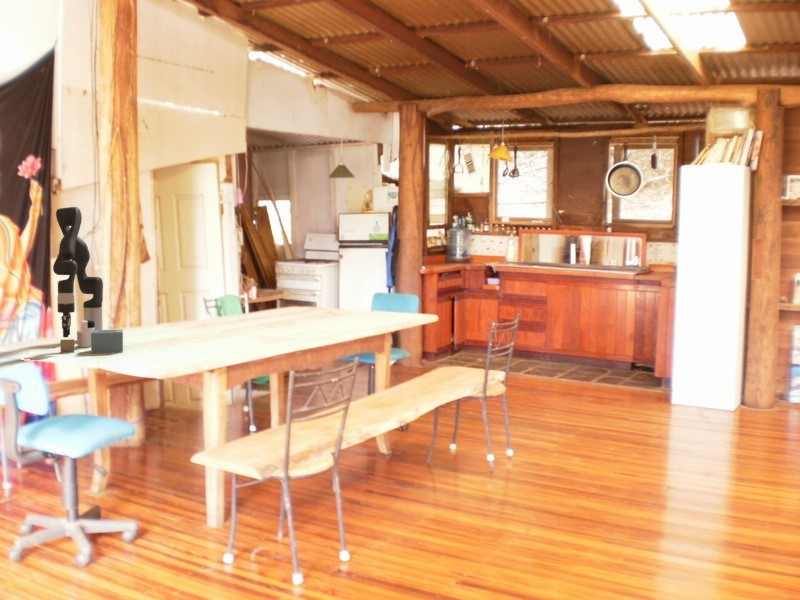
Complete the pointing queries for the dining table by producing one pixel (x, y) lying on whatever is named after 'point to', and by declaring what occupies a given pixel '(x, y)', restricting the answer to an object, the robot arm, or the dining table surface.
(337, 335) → the dining table surface
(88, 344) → the container
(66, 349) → the block
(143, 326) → the dining table surface
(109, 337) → the coin box
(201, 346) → the dining table surface
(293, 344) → the dining table surface
